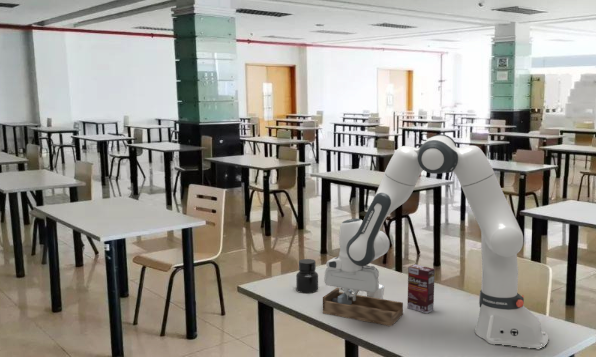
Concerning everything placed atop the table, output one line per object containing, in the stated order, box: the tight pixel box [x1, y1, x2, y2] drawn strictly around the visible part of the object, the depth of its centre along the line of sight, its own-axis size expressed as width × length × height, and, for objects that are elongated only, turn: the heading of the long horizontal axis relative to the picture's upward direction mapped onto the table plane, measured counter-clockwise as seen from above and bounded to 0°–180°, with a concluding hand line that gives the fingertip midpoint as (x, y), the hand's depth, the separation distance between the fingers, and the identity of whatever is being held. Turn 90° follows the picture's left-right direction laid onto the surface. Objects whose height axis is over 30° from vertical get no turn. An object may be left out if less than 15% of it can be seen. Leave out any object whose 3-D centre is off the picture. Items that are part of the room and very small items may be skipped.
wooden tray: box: [322, 287, 404, 327], centre depth 211 cm, size 26×12×6 cm, turn 61°
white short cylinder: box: [366, 283, 385, 299], centre depth 221 cm, size 7×7×7 cm
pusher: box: [332, 290, 353, 305], centre depth 215 cm, size 6×9×5 cm, turn 151°
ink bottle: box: [295, 258, 319, 294], centre depth 237 cm, size 10×9×12 cm
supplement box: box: [406, 264, 436, 314], centre depth 214 cm, size 9×5×16 cm, turn 47°
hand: (351, 300), depth 212 cm, fingers closed
